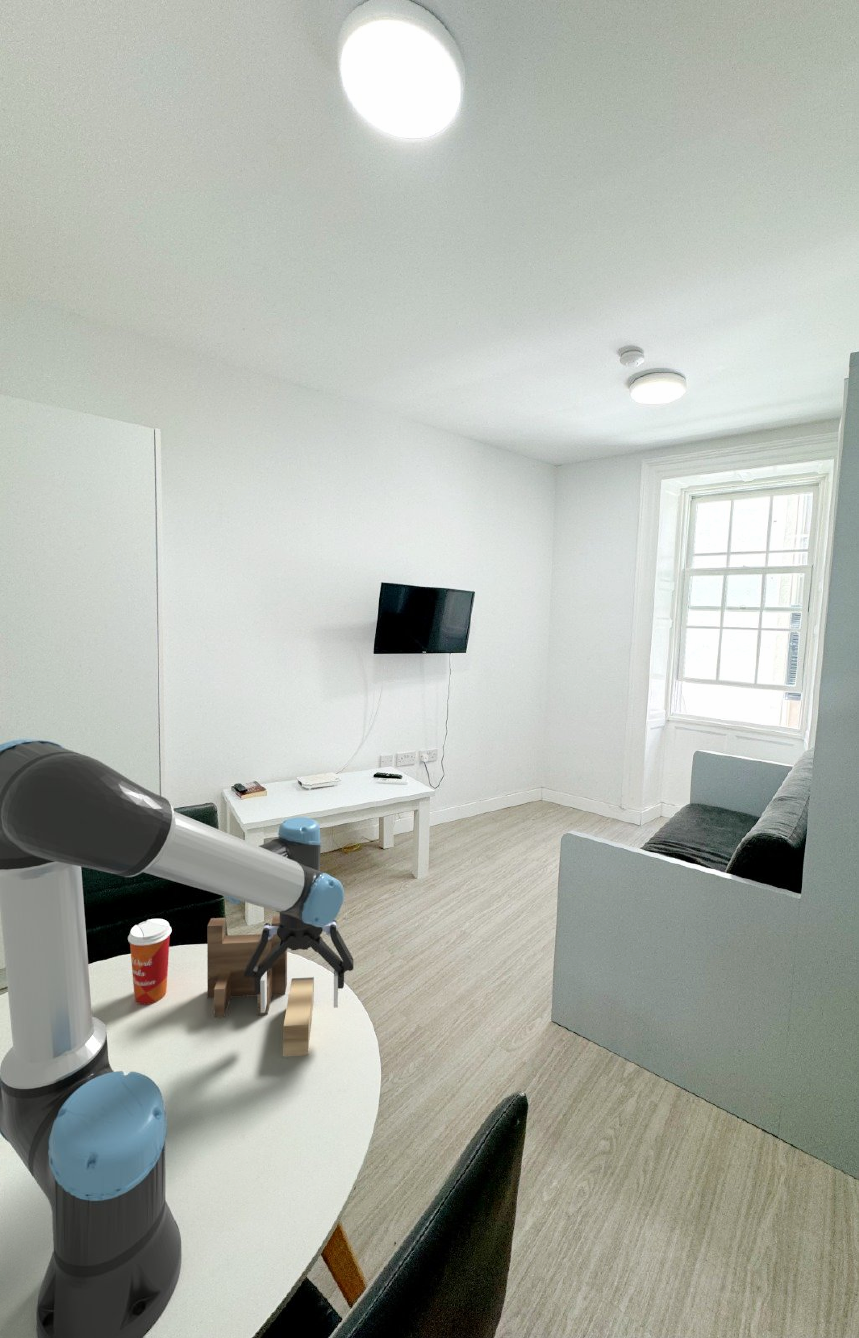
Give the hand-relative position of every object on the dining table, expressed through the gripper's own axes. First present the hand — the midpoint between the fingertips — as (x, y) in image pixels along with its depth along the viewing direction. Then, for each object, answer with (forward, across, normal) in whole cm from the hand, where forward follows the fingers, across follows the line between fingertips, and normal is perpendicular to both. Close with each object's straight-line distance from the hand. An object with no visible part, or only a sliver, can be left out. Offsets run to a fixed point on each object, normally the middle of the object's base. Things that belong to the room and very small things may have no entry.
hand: (300, 1005), depth 109 cm
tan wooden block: (+6, 0, -2) cm, 7 cm away
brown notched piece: (+6, +12, -11) cm, 18 cm away
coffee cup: (+6, +32, -15) cm, 36 cm away
